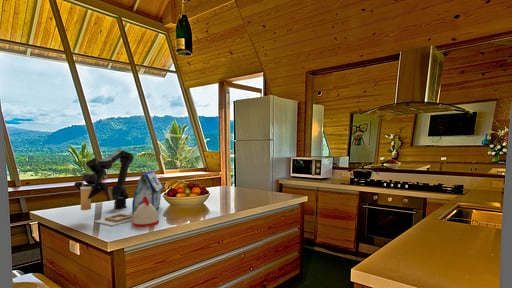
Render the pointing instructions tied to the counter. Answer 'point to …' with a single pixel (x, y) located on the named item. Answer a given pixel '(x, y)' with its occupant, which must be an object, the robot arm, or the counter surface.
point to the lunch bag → (147, 190)
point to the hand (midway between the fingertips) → (84, 198)
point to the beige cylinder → (85, 198)
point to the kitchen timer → (145, 215)
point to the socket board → (115, 219)
